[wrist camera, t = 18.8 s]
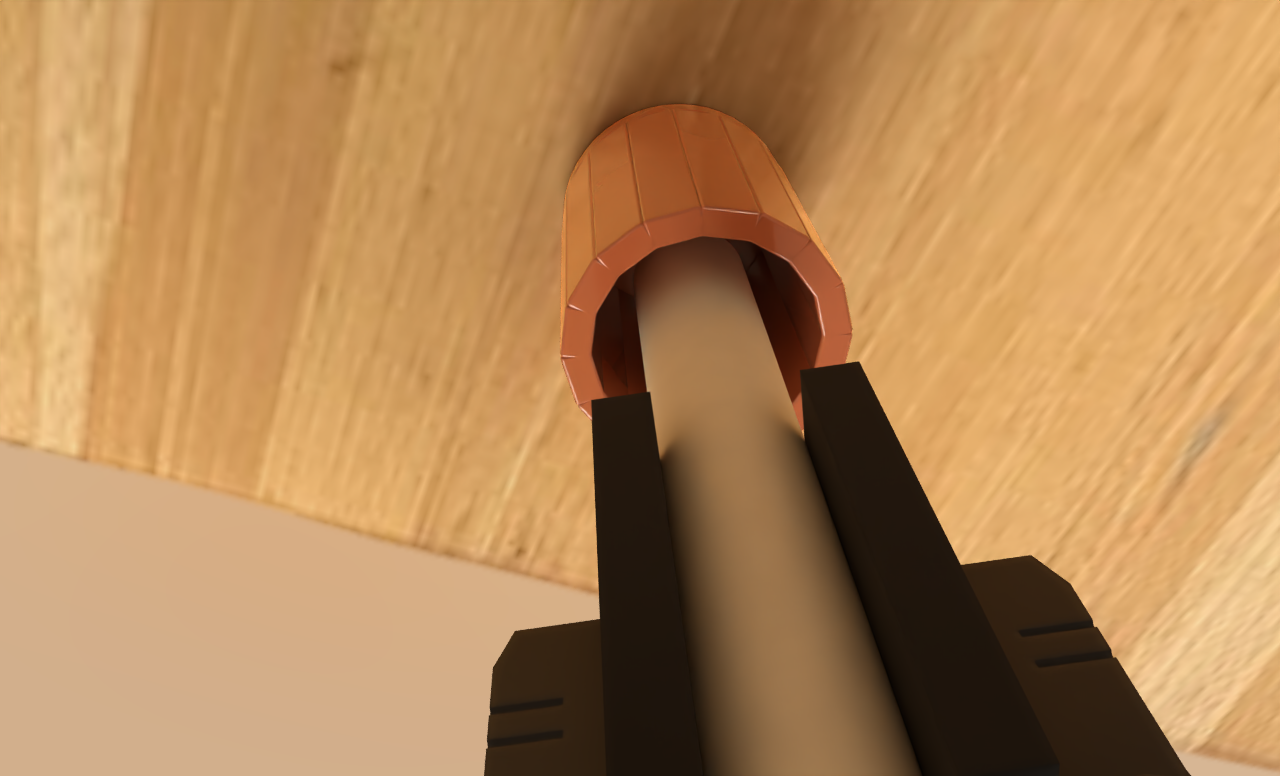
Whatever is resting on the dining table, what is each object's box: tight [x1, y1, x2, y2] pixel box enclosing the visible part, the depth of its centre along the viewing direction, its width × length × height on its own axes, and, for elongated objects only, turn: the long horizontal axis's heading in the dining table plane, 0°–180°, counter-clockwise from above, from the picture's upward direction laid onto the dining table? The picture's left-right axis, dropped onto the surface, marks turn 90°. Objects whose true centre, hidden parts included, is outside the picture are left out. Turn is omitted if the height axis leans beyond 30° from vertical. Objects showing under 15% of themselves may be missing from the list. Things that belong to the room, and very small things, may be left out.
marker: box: [633, 236, 923, 776], centre depth 14 cm, size 2×2×16 cm
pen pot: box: [560, 104, 853, 431], centre depth 20 cm, size 5×5×6 cm
